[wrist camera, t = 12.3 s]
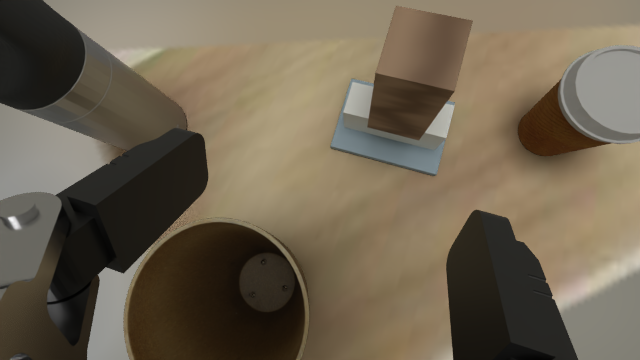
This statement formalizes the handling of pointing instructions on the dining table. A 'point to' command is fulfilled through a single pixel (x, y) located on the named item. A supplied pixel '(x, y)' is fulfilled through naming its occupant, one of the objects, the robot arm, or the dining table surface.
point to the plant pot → (217, 296)
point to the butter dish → (388, 134)
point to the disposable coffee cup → (588, 105)
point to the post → (416, 71)
